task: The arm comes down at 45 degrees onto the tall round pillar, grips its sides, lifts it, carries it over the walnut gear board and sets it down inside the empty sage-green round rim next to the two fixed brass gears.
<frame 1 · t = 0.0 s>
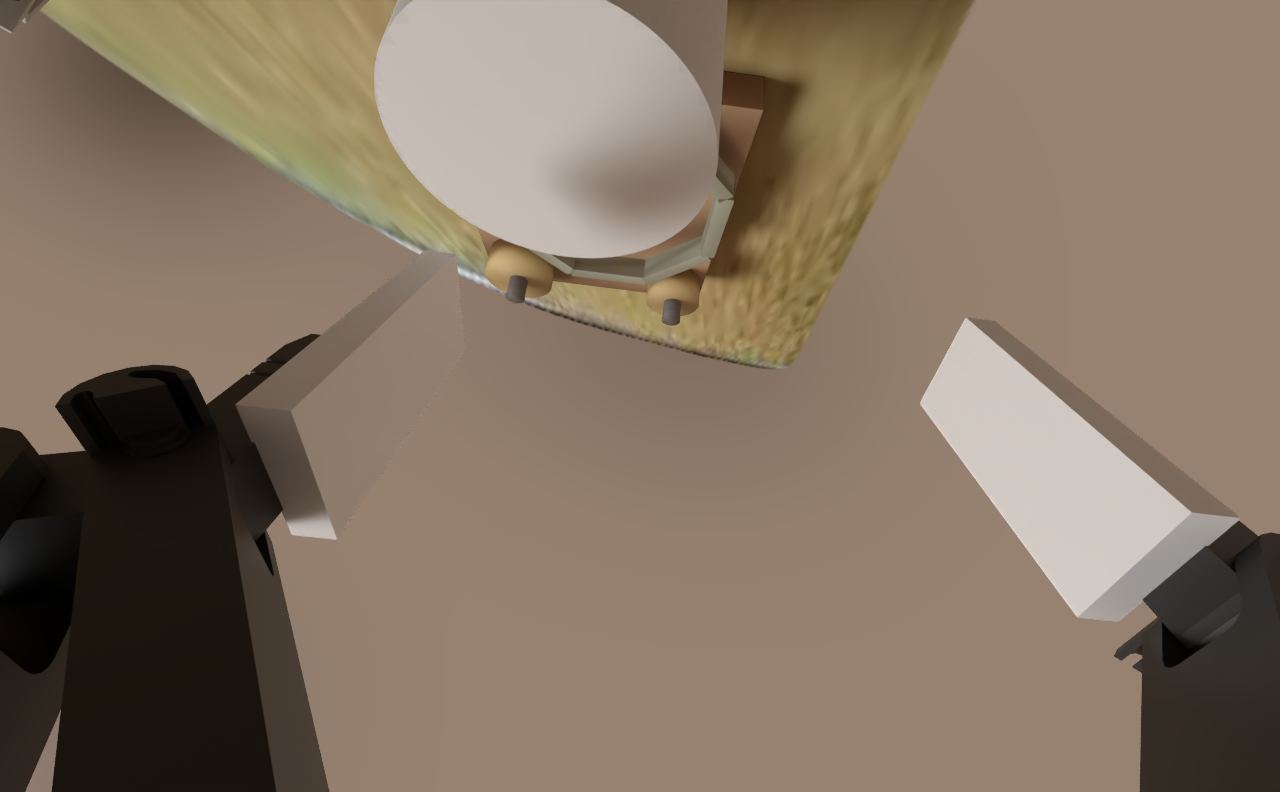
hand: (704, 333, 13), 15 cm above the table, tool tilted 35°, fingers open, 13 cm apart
gear board: (599, 185, 29), on the table
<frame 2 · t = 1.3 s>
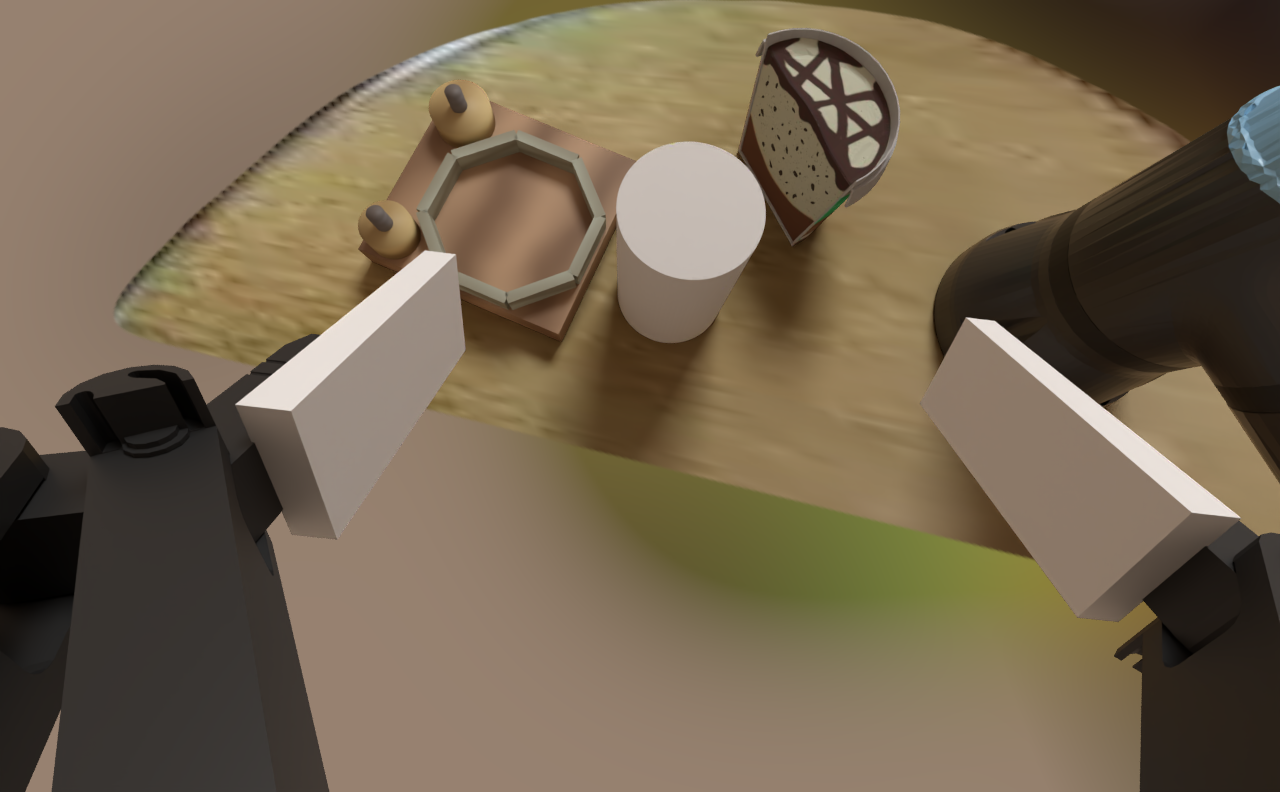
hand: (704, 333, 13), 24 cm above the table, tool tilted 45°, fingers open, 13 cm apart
food container: (796, 185, 41), on the table
gear board: (509, 218, 39), on the table
tall round pillar: (669, 293, 39), on the table
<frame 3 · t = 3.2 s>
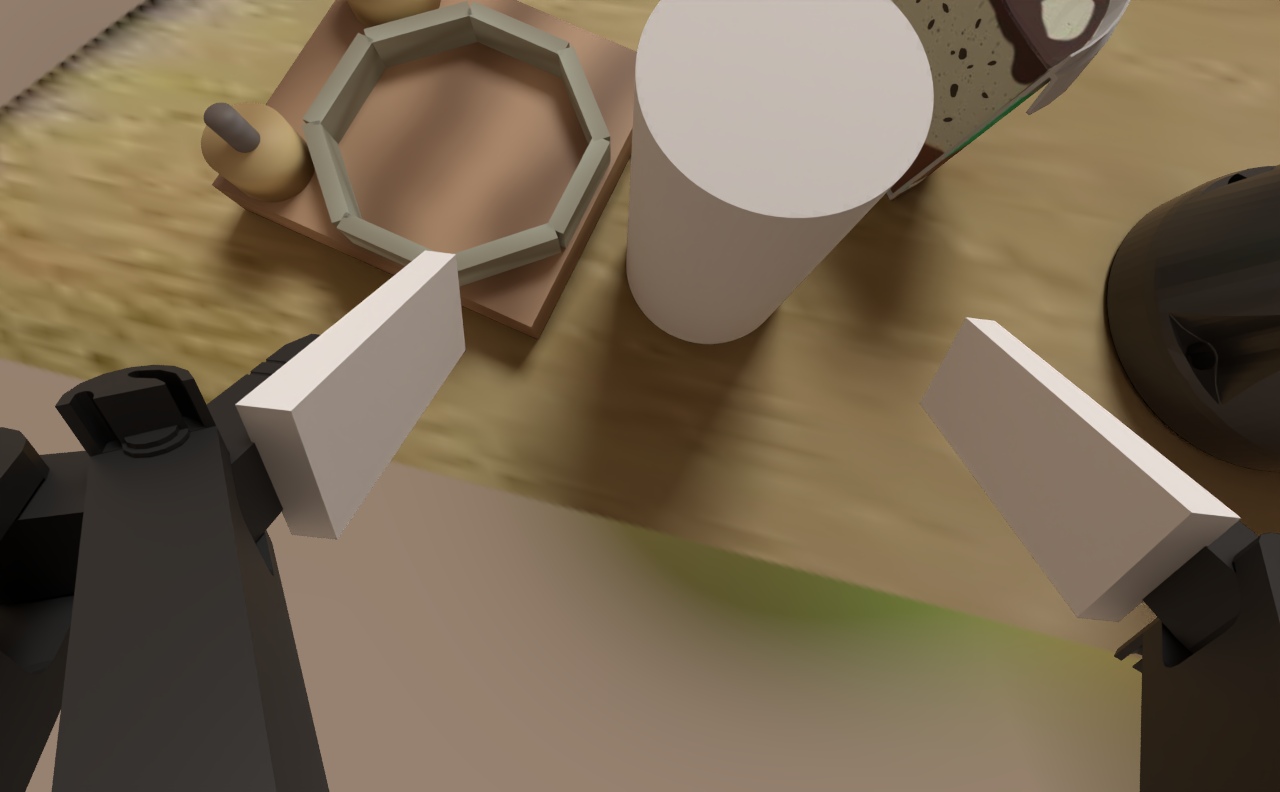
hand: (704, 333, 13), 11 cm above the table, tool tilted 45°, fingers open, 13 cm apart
food container: (894, 111, 27), on the table
gear board: (461, 149, 26), on the table
tall round pillar: (705, 268, 25), on the table
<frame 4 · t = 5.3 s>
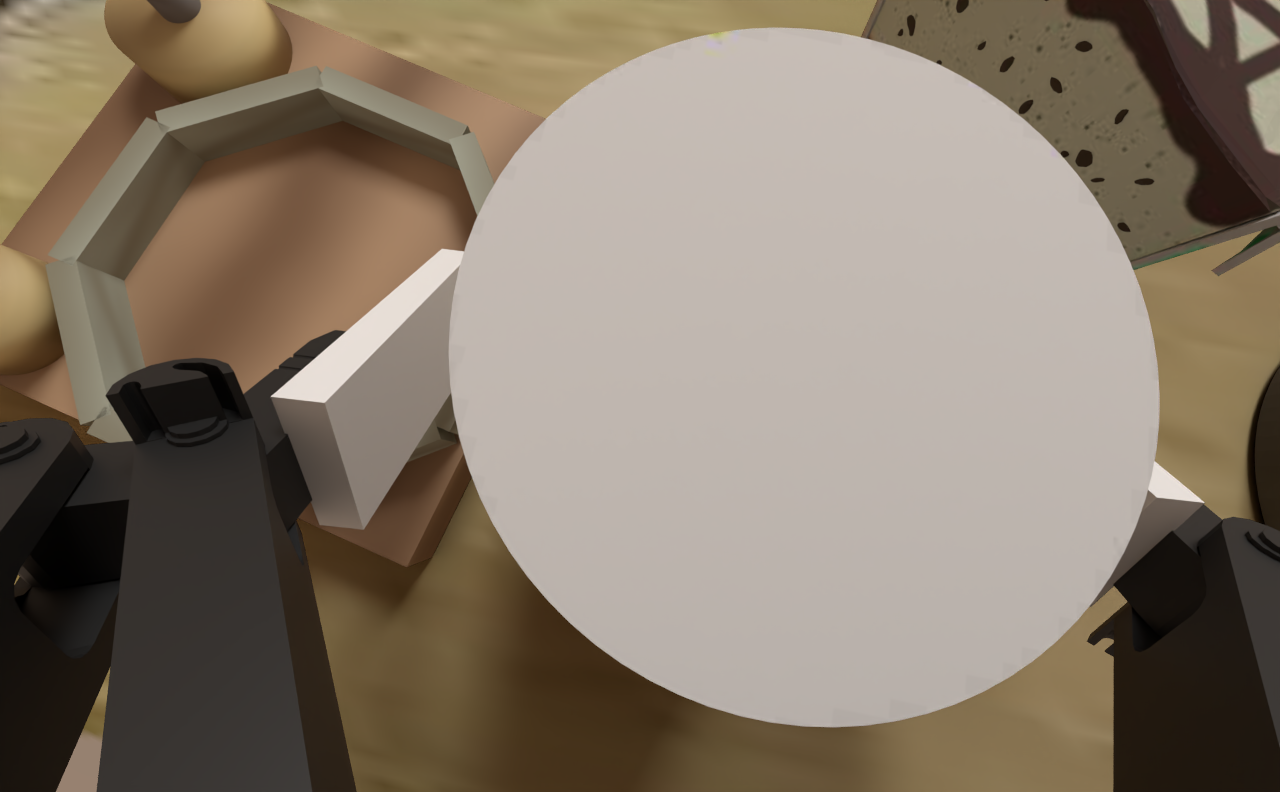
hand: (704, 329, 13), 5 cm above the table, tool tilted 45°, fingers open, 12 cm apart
food container: (940, 198, 20), on the table
gear board: (329, 268, 18), on the table
tall round pillar: (679, 436, 18), on the table
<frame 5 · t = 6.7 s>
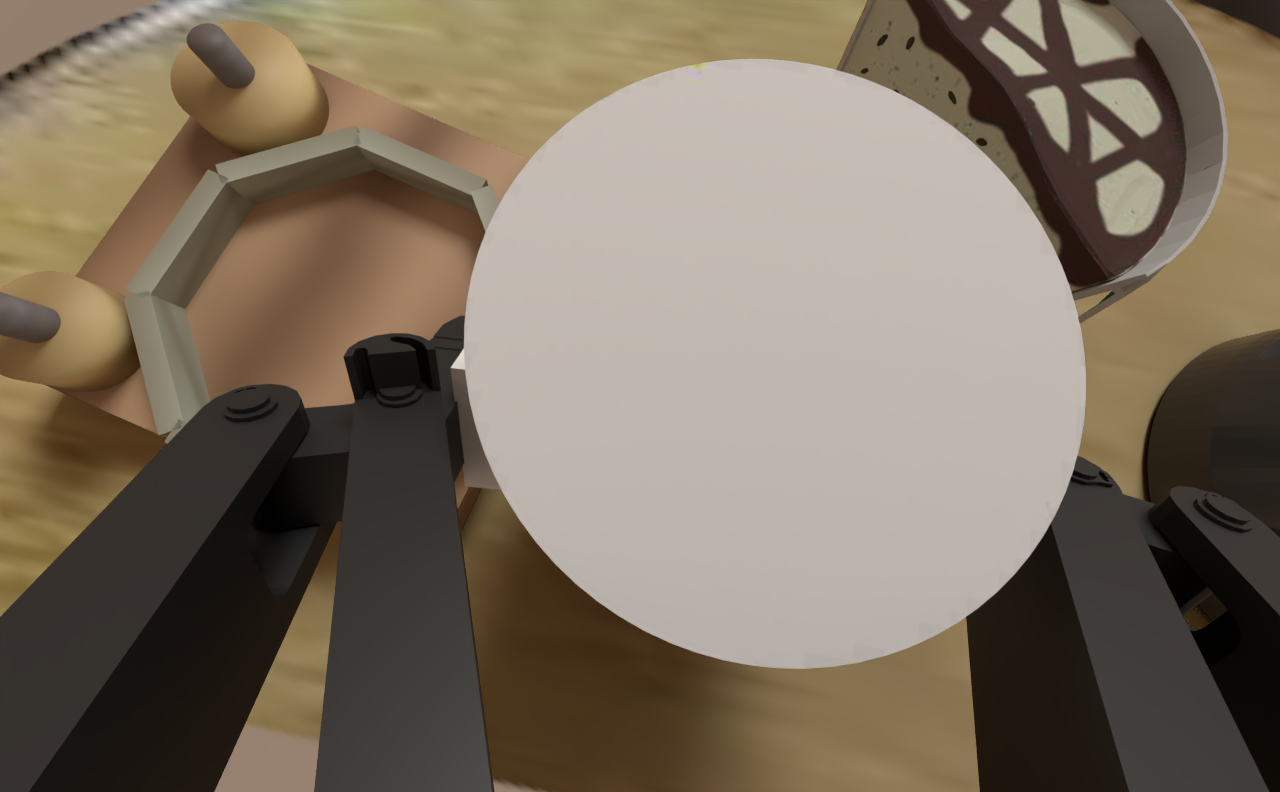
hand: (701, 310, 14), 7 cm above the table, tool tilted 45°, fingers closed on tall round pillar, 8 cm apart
food container: (890, 238, 23), on the table
gear board: (359, 296, 20), on the table
tall round pillar: (671, 433, 18), point 2 cm above the table, touching gripper
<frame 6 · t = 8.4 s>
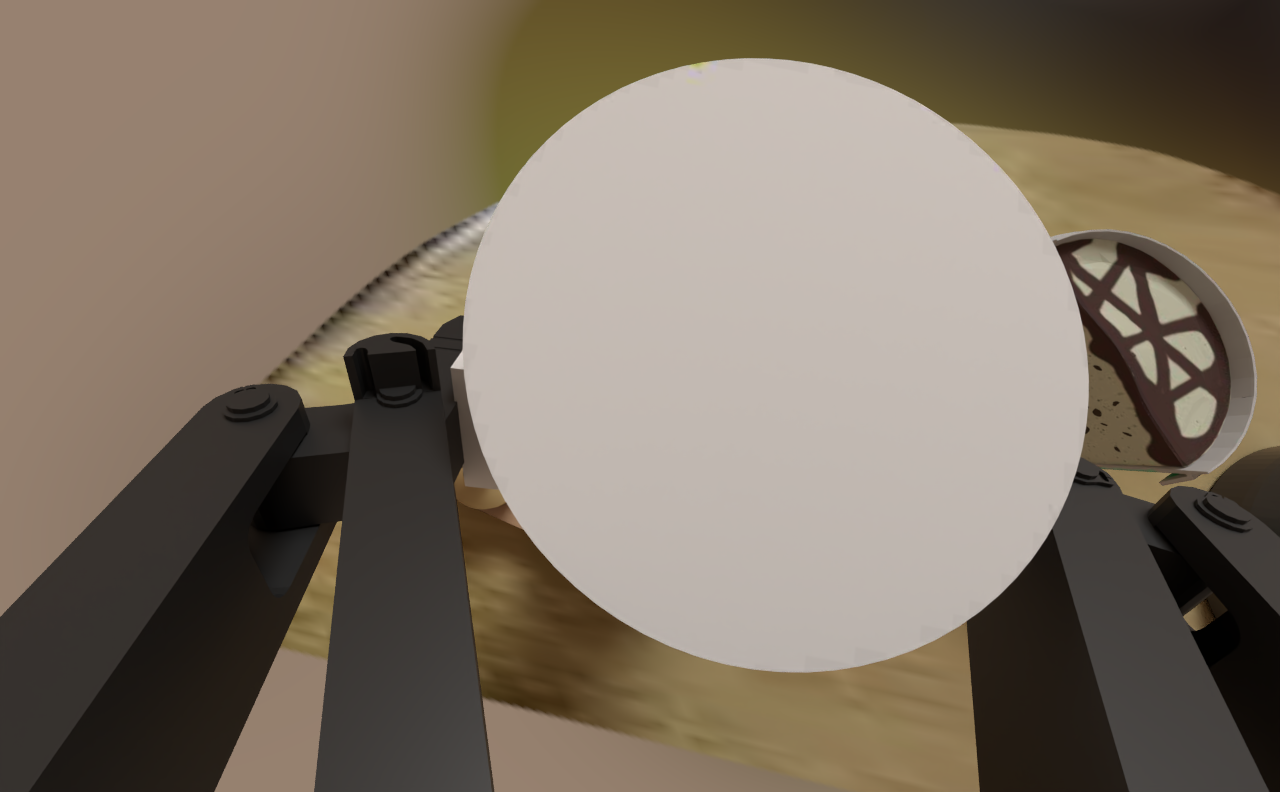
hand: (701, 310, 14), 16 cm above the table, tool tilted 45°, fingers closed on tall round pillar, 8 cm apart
food container: (1002, 374, 31), on the table
gear board: (634, 428, 29), on the table
tall round pillar: (671, 433, 18), point 11 cm above the table, touching gripper
when the fingers open (7 cm above the table, at t = 10.3 s): tall round pillar stays where it is, resting on gear board.
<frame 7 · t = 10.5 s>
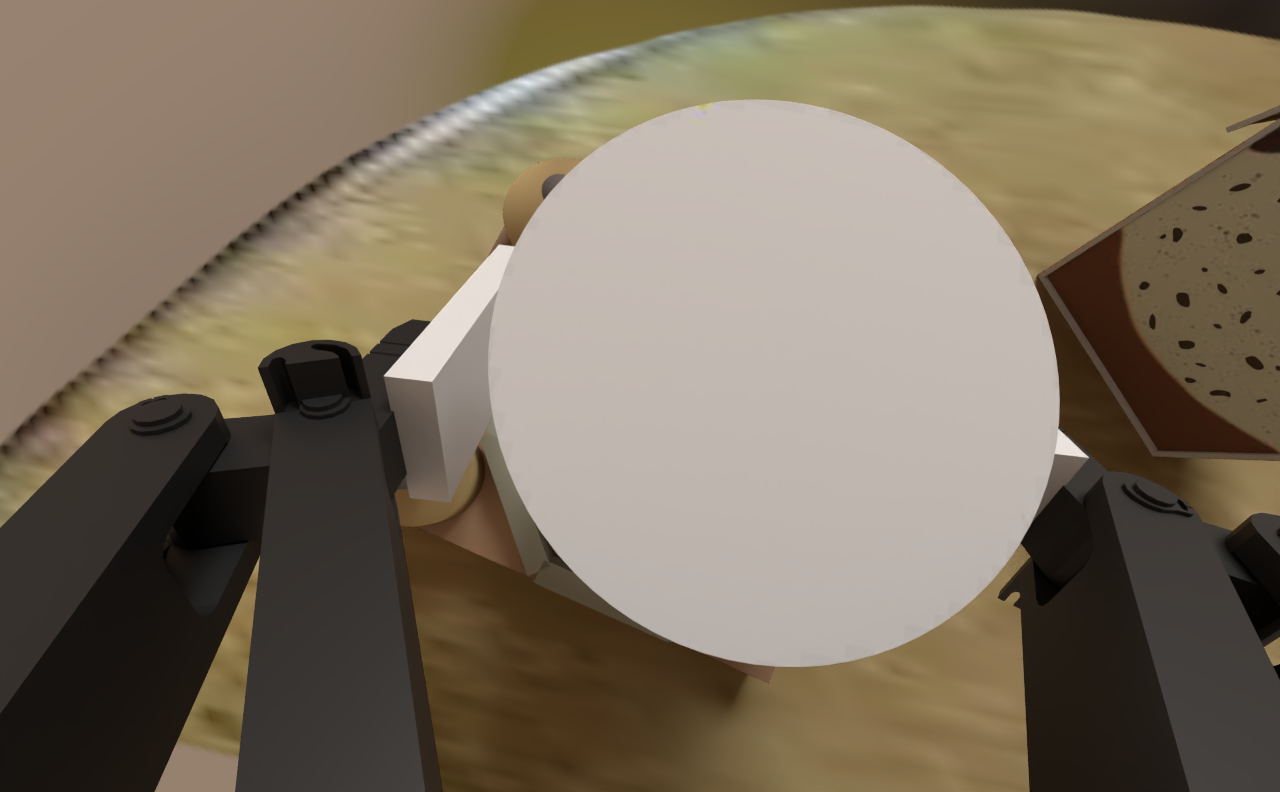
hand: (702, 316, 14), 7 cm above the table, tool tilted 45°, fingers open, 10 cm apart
food container: (1141, 337, 23), on the table
gear board: (641, 409, 21), on the table
tall round pillar: (671, 437, 19), point 2 cm above the table, touching gear board
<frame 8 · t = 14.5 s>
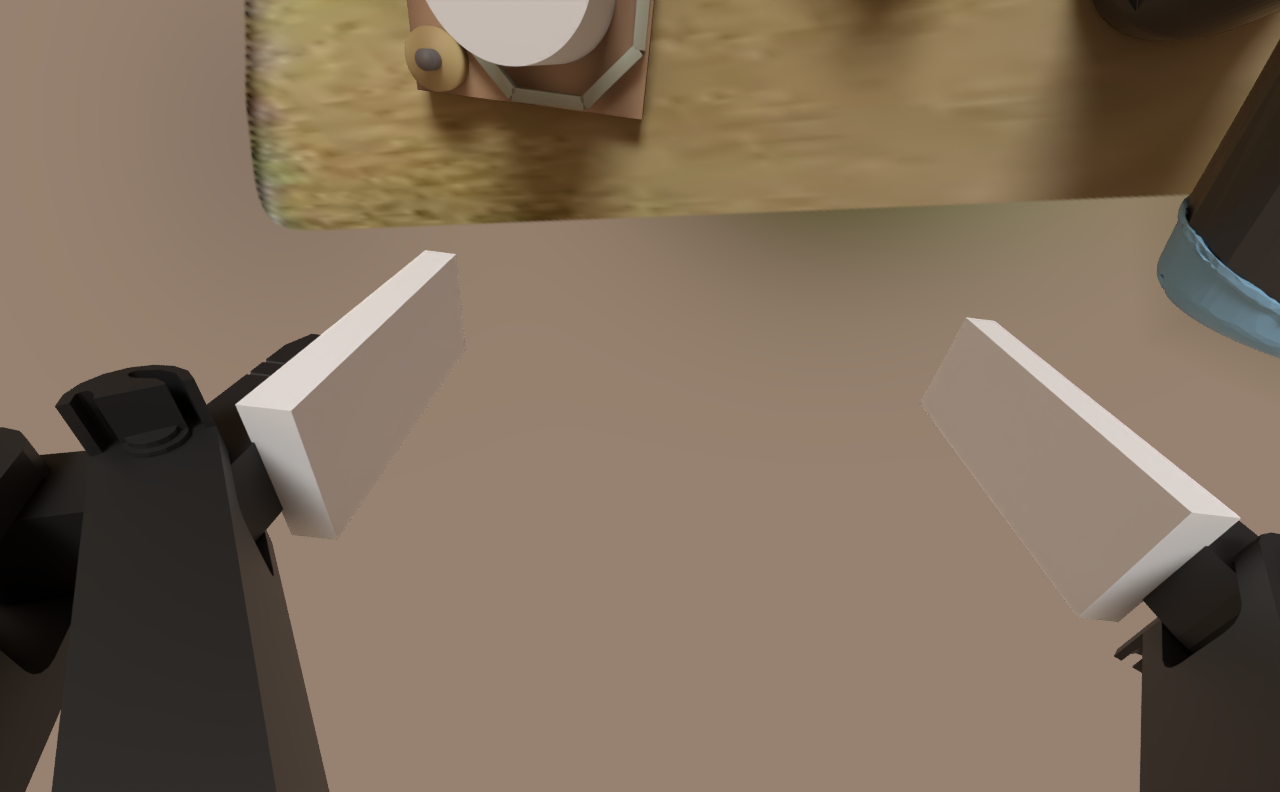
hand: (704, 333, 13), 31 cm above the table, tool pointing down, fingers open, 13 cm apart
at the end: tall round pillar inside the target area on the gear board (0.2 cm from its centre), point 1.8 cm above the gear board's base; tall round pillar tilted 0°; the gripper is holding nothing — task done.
